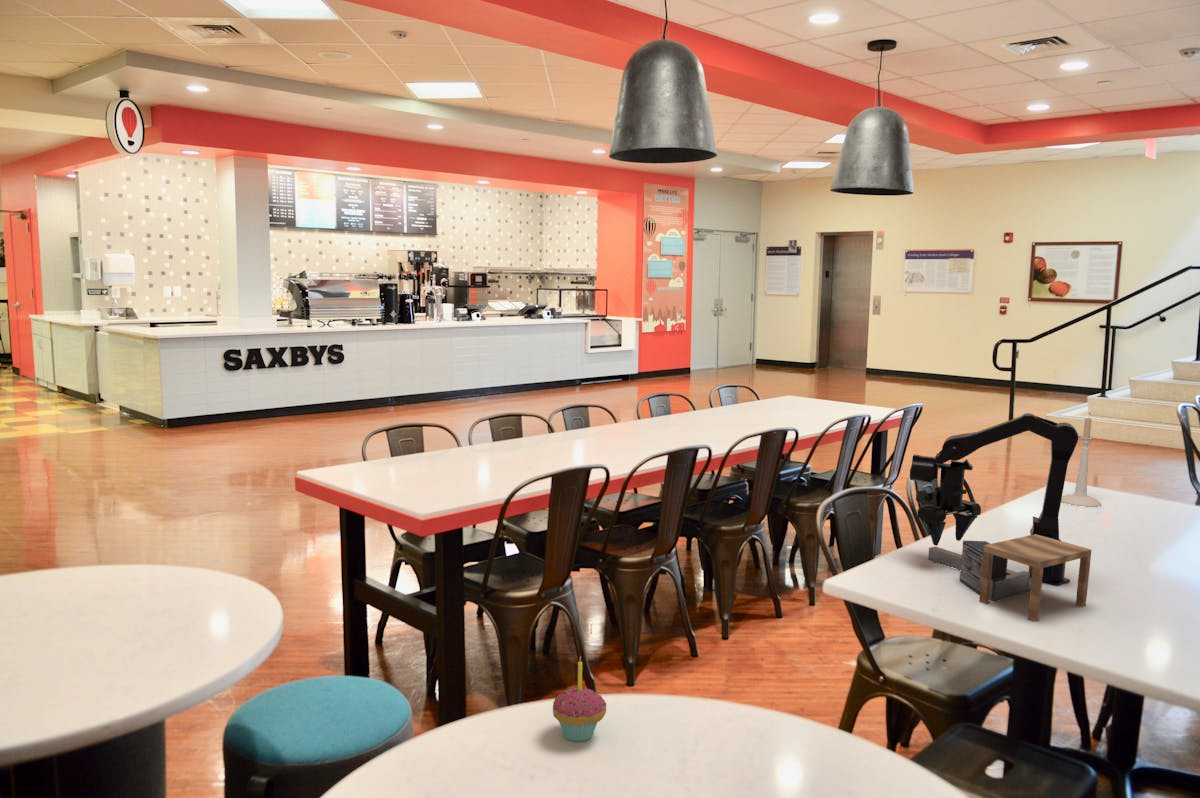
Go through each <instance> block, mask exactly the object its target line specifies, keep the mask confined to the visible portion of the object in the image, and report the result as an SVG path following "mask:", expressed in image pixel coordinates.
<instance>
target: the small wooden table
mask: <svg viewBox="0 0 1200 798" xmlns="http://www.w3.org/2000/svg"><path fill="white" fill-rule="evenodd" d="M1092 550H1093V549H1091V548H1087V547H1084V546H1080V545H1077V544H1072V543H1069V542H1067V541H1062V540H1061V541H1059V540H1055V539H1052V538H1048V537H1044V536H1041V535H1037V534H1034V535H1030V534H1029V535H1025V536H1021V537H1017V538H1012V539H1008V540H1006V539H1005V540H1002V541H997V542H992V543H990V544H988V545H984V552H983V564H982V575H981V587H980V594H979V600H978V601H979V603H982V604H985V605H986V604H989V603H990V600H989V598H990V586H991V575H992V564H993V555H996V556H999V557H1003V558H1006V559H1008V560H1009V561H1013V562H1016V563H1019V564H1023V565H1025V566H1028V572H1029V573H1030V577H1032V580H1031V591H1030V592H1029V601H1028V602H1029V603H1028V612H1027V620H1029V621H1031V622H1034V621H1035V622H1038V621H1039V615H1040V606H1041V596H1042V586H1043V581H1042V577H1043V568H1045V567H1049V566H1052V565H1056V564H1060V563H1064V562H1066V563H1067V562H1072V561H1075V560H1079V559H1080V561H1079V567H1078V578H1077V588H1076V589H1077V590H1076V596H1075V597H1076V598H1075V606H1077V607H1081V608H1083V607H1086V605H1087V598H1088V586H1089V577H1090V568H1091V560H1092V559H1091V558H1092Z"/></svg>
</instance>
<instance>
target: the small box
mask: <svg viewBox="0 0 1200 798" xmlns="http://www.w3.org/2000/svg"><path fill="white" fill-rule="evenodd" d="M988 544H991V543H990V542H988V541H986V540H963V541H962V551H961V552H962V554H961V555H962V561H961V571H960V572H959V579H958V580H960V581H961V583H962V584H963V583H964V584H963V585H965V584H966V585H967V586H966V585H965V586H966V587H968V588H969V587H970V588H969V589H971V590H972V589H973V590H972V591H974V592H975V593H977V594H978V595H980V587H981V575H982V564H983V552H984V545H988ZM1008 560H1009V559H1006V558H1003V557H999V556H996V555H993V564H992V575H991V579H995V578H999V577H1002V576H1006V571H1007V569H1008ZM960 581H959V582H960Z"/></svg>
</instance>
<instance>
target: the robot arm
mask: <svg viewBox="0 0 1200 798" xmlns="http://www.w3.org/2000/svg"><path fill="white" fill-rule="evenodd" d="M1025 432H1031V433H1034V434H1035V435H1037V436H1040V437H1042V438H1043V439H1047V440H1049V441H1050V454H1051V455H1050V464H1049V469H1048V476H1047V481H1046V485H1045V486H1046V487H1045V492H1044V498H1043V504H1042V510H1041V512H1040V514H1039V516H1038V517H1036V516H1034V515H1033V516H1032V526H1031V528H1030V530H1029V536H1030V535H1034V534H1037V535H1041V536H1044V537H1048V538H1052V539H1055V540H1059V541H1062V540H1061V539H1060V528H1059V527H1060V526H1059V525H1060V524H1059V523H1060V522H1059V515H1060V509H1061V503H1062V502H1061V499H1062V496H1063V493H1064V487H1065V481H1066V477H1067V471H1068V466H1069V465H1068V464H1069V462H1070V460H1071V458H1072V456H1073V454H1074V452H1075V448H1076V447H1077V445H1078V441H1079V435H1078V432H1077V429H1076V428H1075V426H1074V425H1072V424H1071V423H1069V422H1059V423H1058V422H1054V421H1053V420H1050V419H1046V418H1043V417H1040V416H1037V415H1035V414H1033V413H1029V412H1027V413H1024V414H1022V415H1020V416H1018V417H1015V418H1012V419H1009V420H1006V421H1004V422H1002V423H1001V422H1000V423H998V424H995V425H993V426H989V427H987V428H985V429H982V430H978V431H974V432H968V433H960V434H955V435H951V436H949V437H947V438H946V439H945V440H944V442H943V444H942V447H941V448H942V449H941V450H940V451H939V452H936V455H935V457H934V456H926V455H919V454H913V455H912V458H911V459H912V461H911V466H910V470H909V480H910V481H915V482H927V483H933V482H934V481H935V480H938V477H939V478H940V479H939V485H938V486H936V487H935V488H934V492H927V490H926V489H924V490H923V489H921V490H918V491H916V494H915V501H916V502H917V504H920V507H919V508H918V509H917V514H916V518H919V519H920V521H922V522H924V523H925V524H926V526H927V528H928V531H929V535H930V537H931V541H932V545H934V546H935V547H938V545H939V543H940V541H941V538H942V535H943V532H944V529H945V526H946V524H947V522H946V521H945V520H946V519H947V516H948V515H953V518H954V520H955V540H956V541H958V542H960V541H962V539H963V537H964V535H965V534H966V533H967V531H968V530H969V528H970V527H971V525H972V524H973V522H974V521H975V519H977V518H978V516H979V515H981V513H982V507H981V505H980V504H979V503H978V502H973V501H969V500H965V499H963V496H964V495H966V494H967V492H968V491H967V489H964V483H965V473H966V471H972V470H973V468H974V465H972V464H971V463H970V461H969V460H968V458H967V459H965V460H964V461H960V460H962V459H964V458H966V457H968V456H970V454H973V453H974V452H976V451H977V450H979V449H981V448H982V447H986V446H988V445H991V444H995V443H997V442H1000V441H1002V440H1005V439H1008V438H1011V437H1014V436H1017V435H1020V434H1023V433H1025ZM949 461H950V463H947V462H949ZM939 468H940V476H939ZM965 470H966V471H965ZM1066 563H1067V562H1064V563H1060V564H1056V565H1052V566H1049V567H1045V568H1043V577H1042V583H1043V582H1044V583H1047V584H1050V585H1054V586H1059V585H1063V584H1066V583H1070V581H1071V579H1069V578H1067V577H1065V572H1066Z"/></svg>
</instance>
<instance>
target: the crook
mask: <svg viewBox="0 0 1200 798" xmlns="http://www.w3.org/2000/svg"><path fill="white" fill-rule="evenodd" d="M927 557H928V558H927V560H928V561H929V560H930V562H932V561H933V563H935V562H937V563H936V564H938V563H940V564H939V565H941V564H943V565H942V566H944V565H946V566H945V567H947V566H949V567H948V568H950V567H953V568H956V569H958V570H957V571H959V570H961V561H962V554H961V553H957V552H954V551H950V550H947V549H945V548H942V547H939V546H931V547H929V548H928V556H927ZM953 568H952V569H953ZM956 569H955V570H956ZM1031 580H1032V577H1030V573H1029V571H1025V570H1022V571H1019V572H1017V571H1014V570H1011V569H1008V568H1007V571H1006V576H1002V577H999V578H995V579H991V586H990V598H989V602H992V601H993V603H996V602H999V600H1000V601H1003V600H1006V599H1010V598H1013V596H1014V597H1016V596H1019V595H1024V594H1028V593H1030V591H1031ZM1027 592H1028V593H1027Z"/></svg>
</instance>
